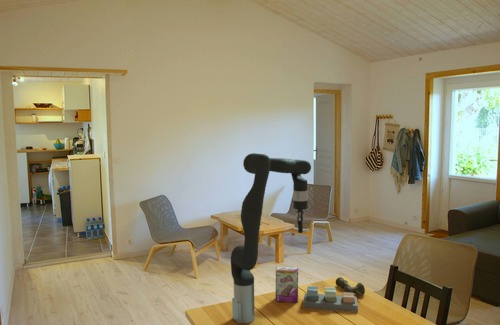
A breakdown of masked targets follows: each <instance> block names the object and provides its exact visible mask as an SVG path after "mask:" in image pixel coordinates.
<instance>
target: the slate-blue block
mask: <svg viewBox="0 0 500 325" xmlns="http://www.w3.org/2000/svg"><path fill="white" fill-rule="evenodd" d="M306 287H307V288H306V293H307V300H313V301H318V294H319V287H318V285H317V286H316V285H315V286H314V285H307V286H306Z"/></svg>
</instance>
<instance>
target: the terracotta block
mask: <svg viewBox="0 0 500 325" xmlns="http://www.w3.org/2000/svg"><path fill="white" fill-rule="evenodd" d="M342 296H343V303H352V304H354V296H355V294H354V293H346V292H344V291H343V292H342Z"/></svg>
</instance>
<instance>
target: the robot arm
mask: <svg viewBox="0 0 500 325" xmlns="http://www.w3.org/2000/svg"><path fill="white" fill-rule="evenodd" d="M242 163H243V164H242V165H243V168H244V170H245V171H246V172H247V173H249V174H252V175H253V174H254V179H253V184H252V186H251V188H250V190H249V191H248V193H247V194H246V195H245V197H244V199H243V201H242V203H241V210H240V222H241V227H242V229H243V234H244V242H243V245H237V246H235V247H234V248H233V249H232V251H231V253H230V269H231V272H230V273H231V277H232V279H233V298H231V305H232V309H231V310H232V312H231V313H232V319H233V320H234V321H235V322H236V324H249V323H253V322H254V321H255V318H256V317H255V315H256V313H255V309H256V308H255V276H254V274H253V273H252V272H251V270H253V269H254V268H255V266H256V265H257V262H258V255H259V237H260V229H261V220H262V215H263V209H264V199H265V193H266V187H267V183H268V179H269V175H270V172H271V173H273V172H274V173H280V174H291V178H292V182H293V185H292V187H293V192H292V208H293V209H294V210H297V211H296V214H295V215H296V221H297V228H298V229H297V233H298V234H303V230H304V227H303V226H304V221H305V214H306V213H305V211H304V210H307V209H308V208H309V192H308V180H307V179H305V178H304V177H303V176H302V175H307V174H309V173H310V172H311V169H312V165H311V163H310V162H309V161H308V160H305V159H292V158H282V157H281V158H280V157H278V158H277V157H274V158H273V157H269V155H267V154H265V153H264V154H262V153H255V152H254V153H249V154H247V155H246V156H245V157H244V159H243V162H242Z"/></svg>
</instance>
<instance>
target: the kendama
mask: <svg viewBox="0 0 500 325" xmlns="http://www.w3.org/2000/svg"><path fill="white" fill-rule="evenodd" d="M335 285H336V286H337V287H340V288H342V289H343V292H346V293H354V295H355V294H357V295H359V296H363V295H365V292H366V289H365V285H364V284H363V283H362V282H358V283H357V284H356V285H355V286H351V285H350V284H349V283H348V281H347V280H345V279H344V278H343V276H342V277H341V276H340V277H337V278H336V279H335Z"/></svg>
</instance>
